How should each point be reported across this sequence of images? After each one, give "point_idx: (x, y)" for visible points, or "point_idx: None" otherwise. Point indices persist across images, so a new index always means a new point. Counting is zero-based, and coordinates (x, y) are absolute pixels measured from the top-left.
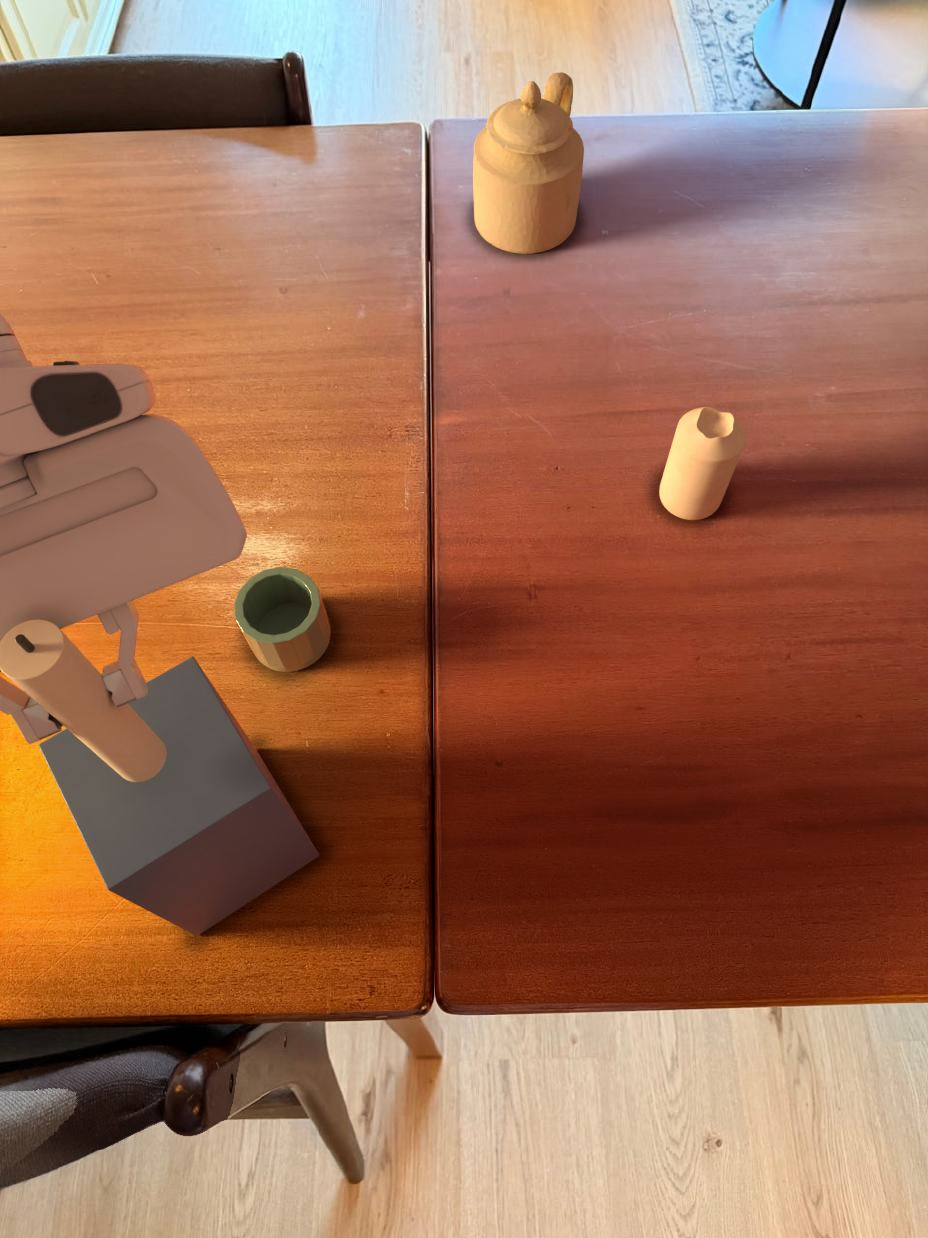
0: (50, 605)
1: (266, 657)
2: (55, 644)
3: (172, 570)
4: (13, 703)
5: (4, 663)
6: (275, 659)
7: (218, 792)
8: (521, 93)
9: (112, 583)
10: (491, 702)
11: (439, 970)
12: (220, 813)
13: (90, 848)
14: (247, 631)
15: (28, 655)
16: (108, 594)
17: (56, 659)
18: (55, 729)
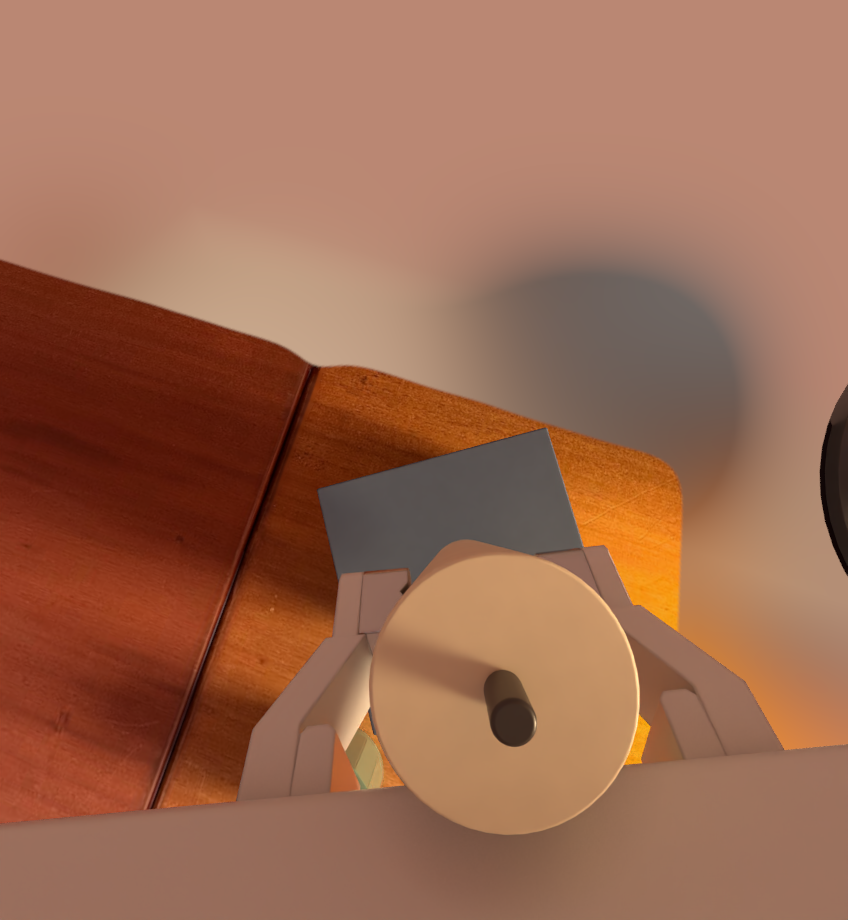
0: (428, 886)
1: (361, 747)
2: (402, 670)
3: (5, 869)
4: (622, 624)
5: (609, 659)
6: (352, 741)
7: (384, 506)
8: None
9: (191, 896)
10: (159, 606)
11: (303, 376)
12: (388, 477)
13: (562, 488)
14: (362, 787)
15: (512, 659)
16: (232, 853)
17: (408, 601)
18: (542, 556)
